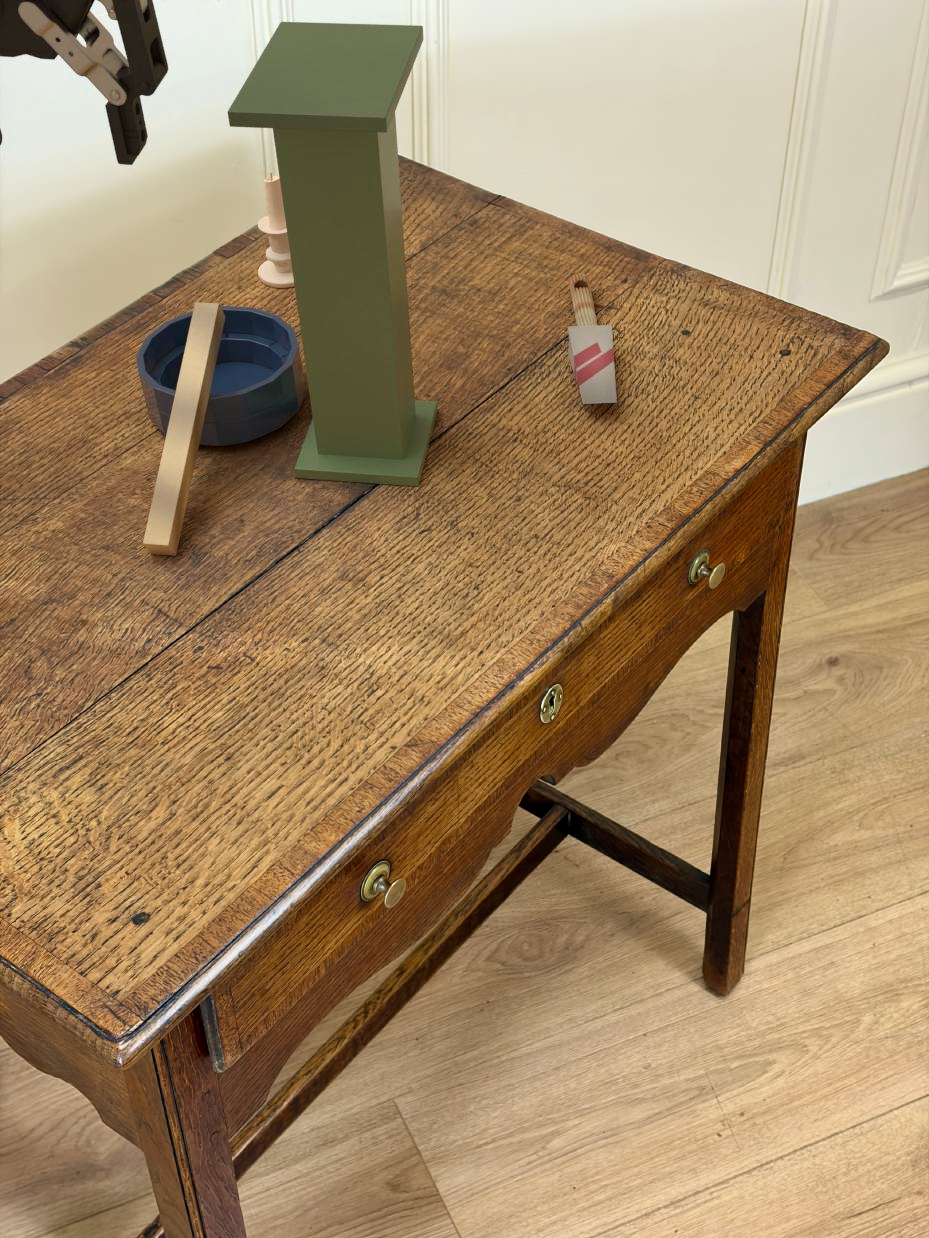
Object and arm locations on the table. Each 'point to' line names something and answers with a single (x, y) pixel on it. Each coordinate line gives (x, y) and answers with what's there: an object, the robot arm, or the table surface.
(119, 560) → the table surface
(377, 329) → the stand
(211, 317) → the stick
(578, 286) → the paintbrush
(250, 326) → the bowl
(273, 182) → the candle
